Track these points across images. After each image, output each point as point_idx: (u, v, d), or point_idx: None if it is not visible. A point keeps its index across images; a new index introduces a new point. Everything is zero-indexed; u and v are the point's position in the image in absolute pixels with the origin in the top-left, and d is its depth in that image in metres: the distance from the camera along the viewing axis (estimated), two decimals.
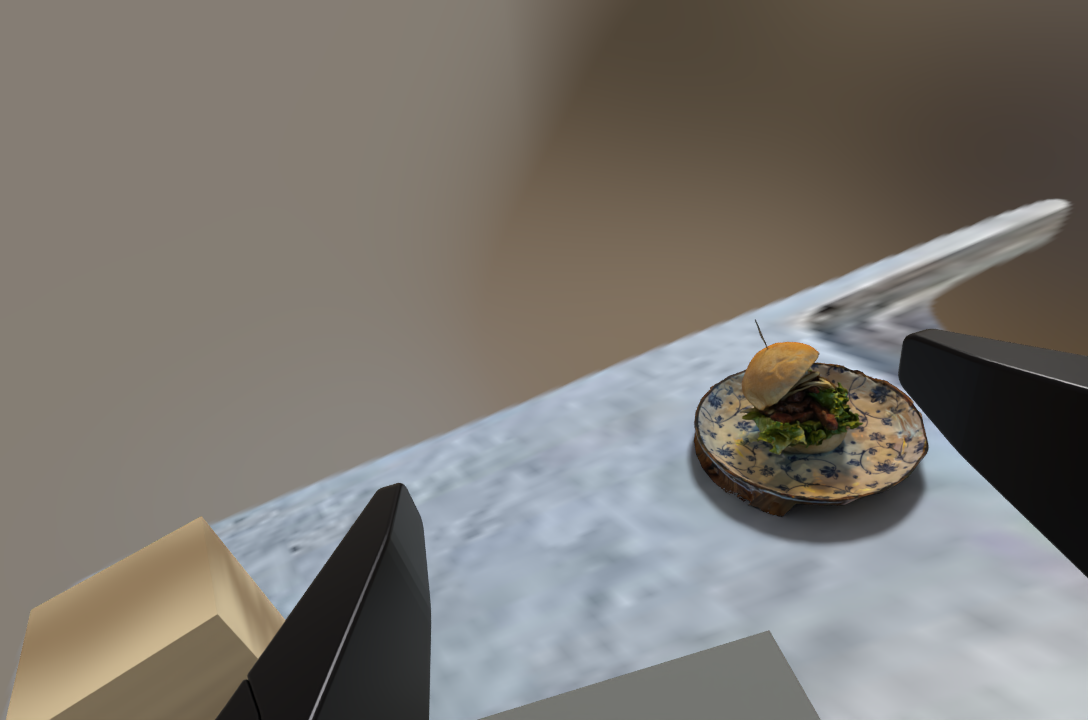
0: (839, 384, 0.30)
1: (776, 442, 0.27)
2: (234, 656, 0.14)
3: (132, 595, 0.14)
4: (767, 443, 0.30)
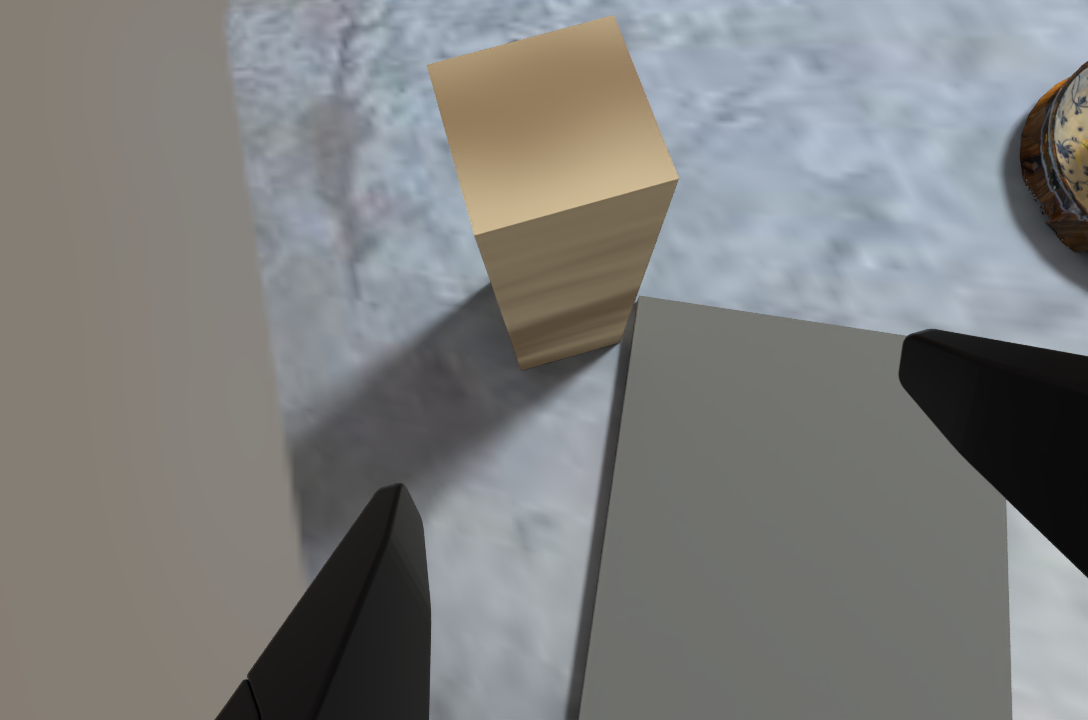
0: None
1: None
2: (653, 218, 0.13)
3: (556, 101, 0.12)
4: None
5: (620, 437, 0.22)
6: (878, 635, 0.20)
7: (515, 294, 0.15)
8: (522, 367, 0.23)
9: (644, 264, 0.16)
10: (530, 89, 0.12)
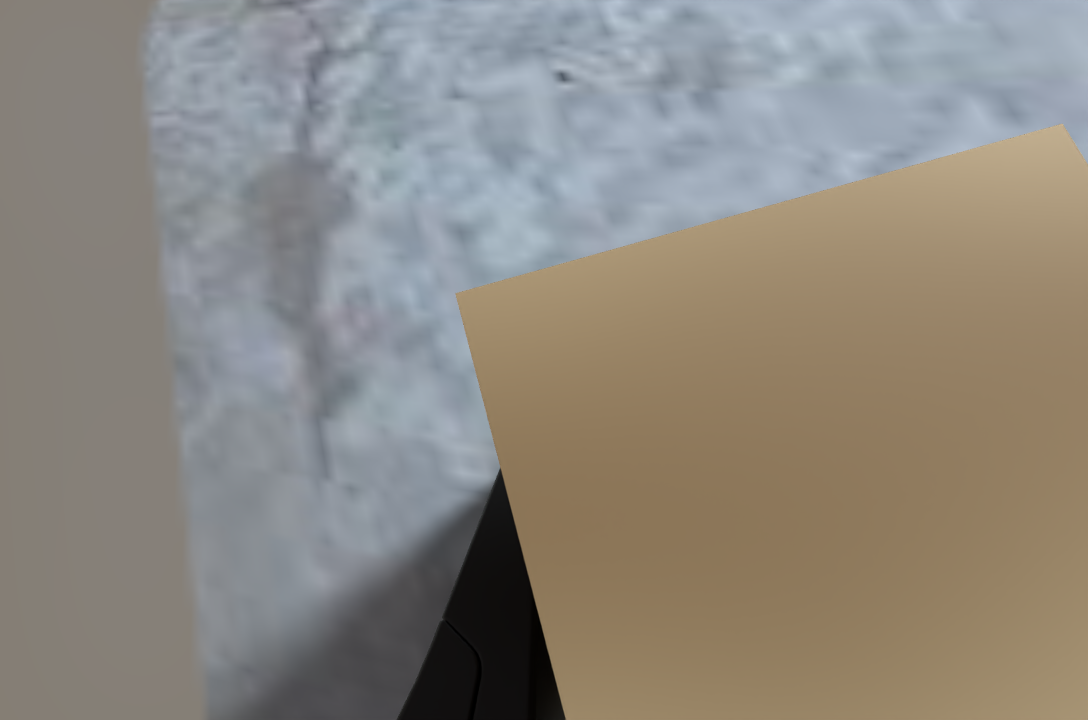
0: None
1: None
2: None
3: (923, 453, 0.03)
4: None
5: None
6: None
7: None
8: None
9: None
10: (822, 398, 0.03)
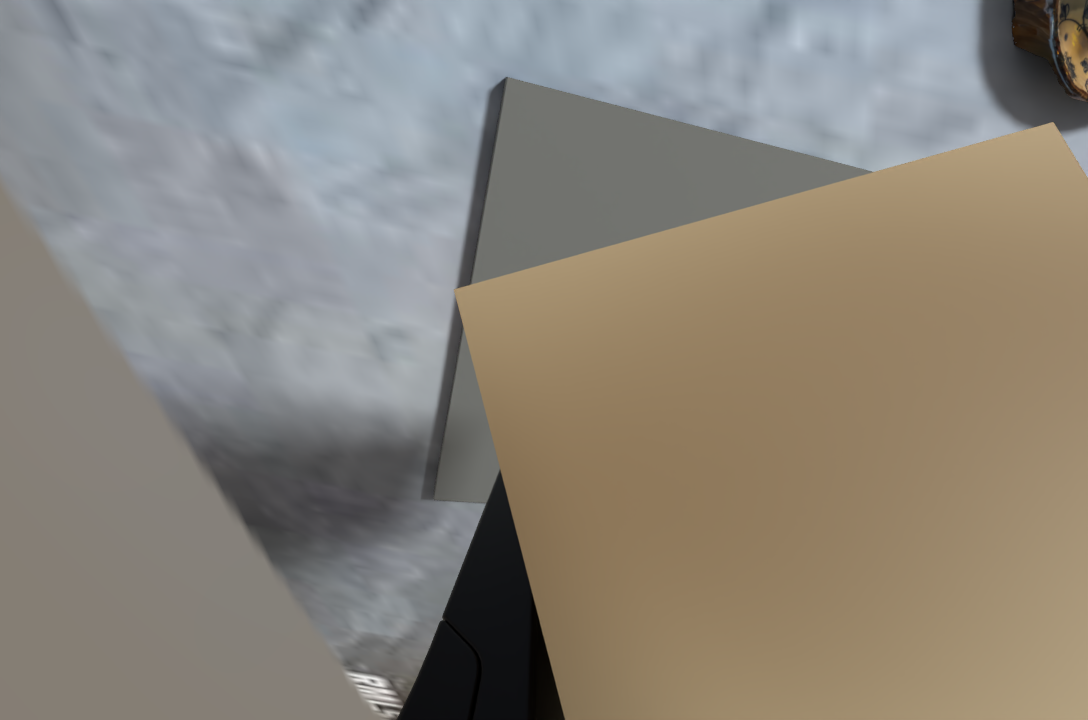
0: None
1: None
2: None
3: (914, 445, 0.03)
4: None
5: (477, 260, 0.20)
6: None
7: None
8: None
9: None
10: (815, 392, 0.03)
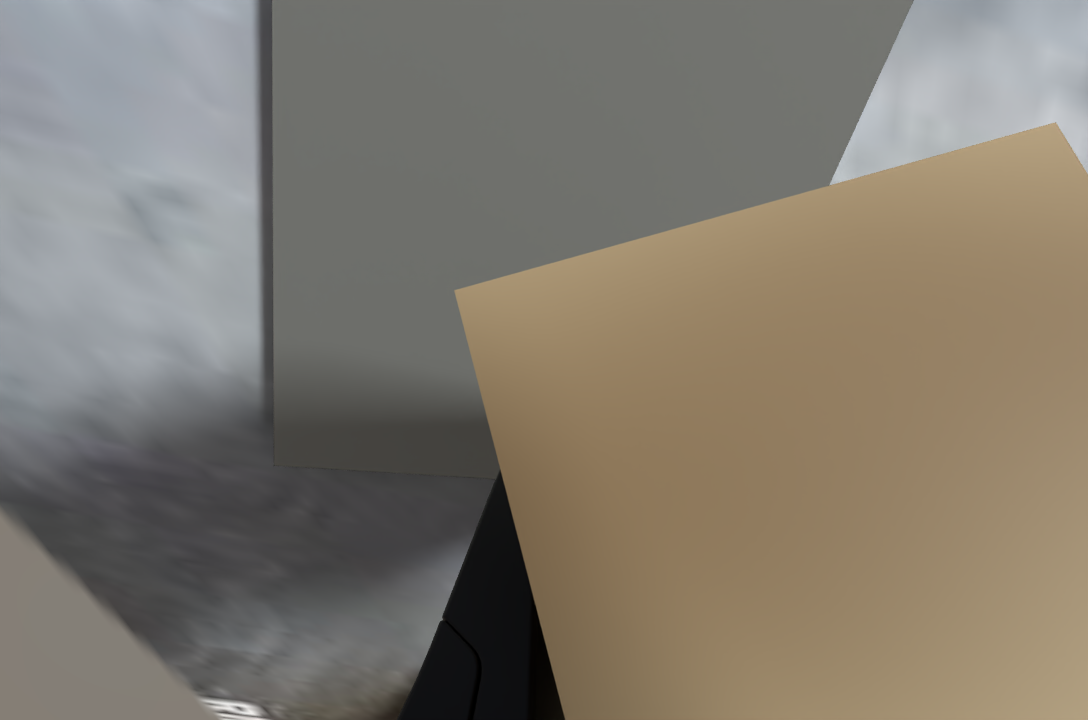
0: None
1: None
2: None
3: (917, 446, 0.03)
4: None
5: (274, 56, 0.12)
6: None
7: None
8: None
9: None
10: (816, 393, 0.03)
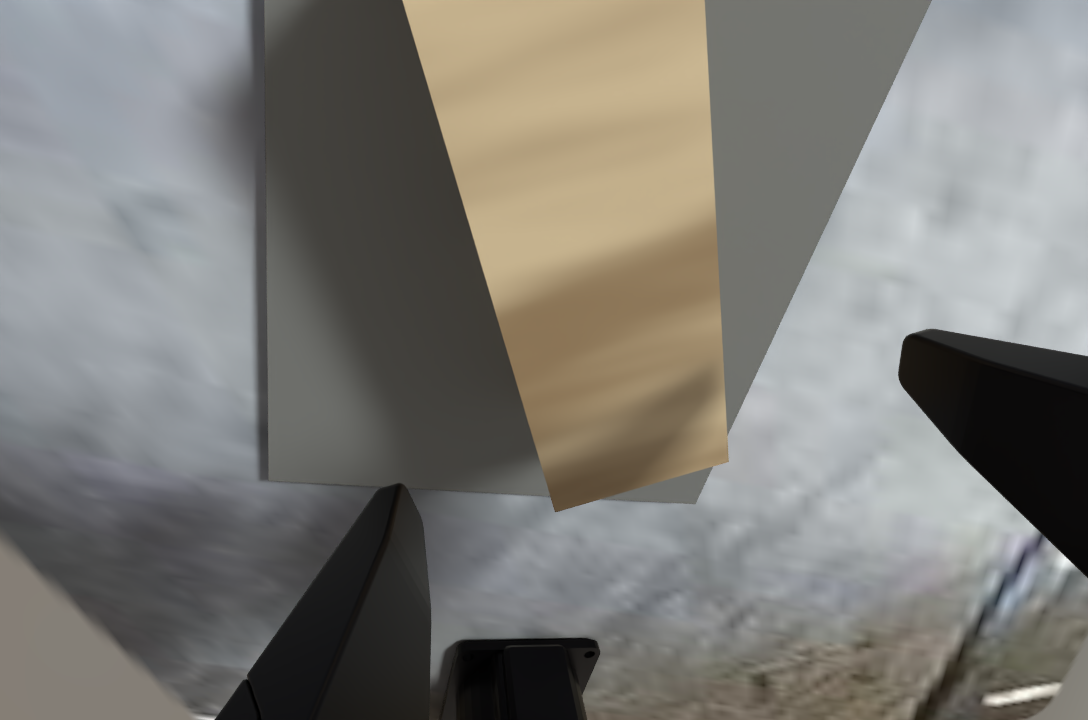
0: None
1: None
2: None
3: None
4: None
5: (267, 60, 0.11)
6: None
7: (478, 137, 0.09)
8: (554, 497, 0.13)
9: (703, 110, 0.09)
10: None
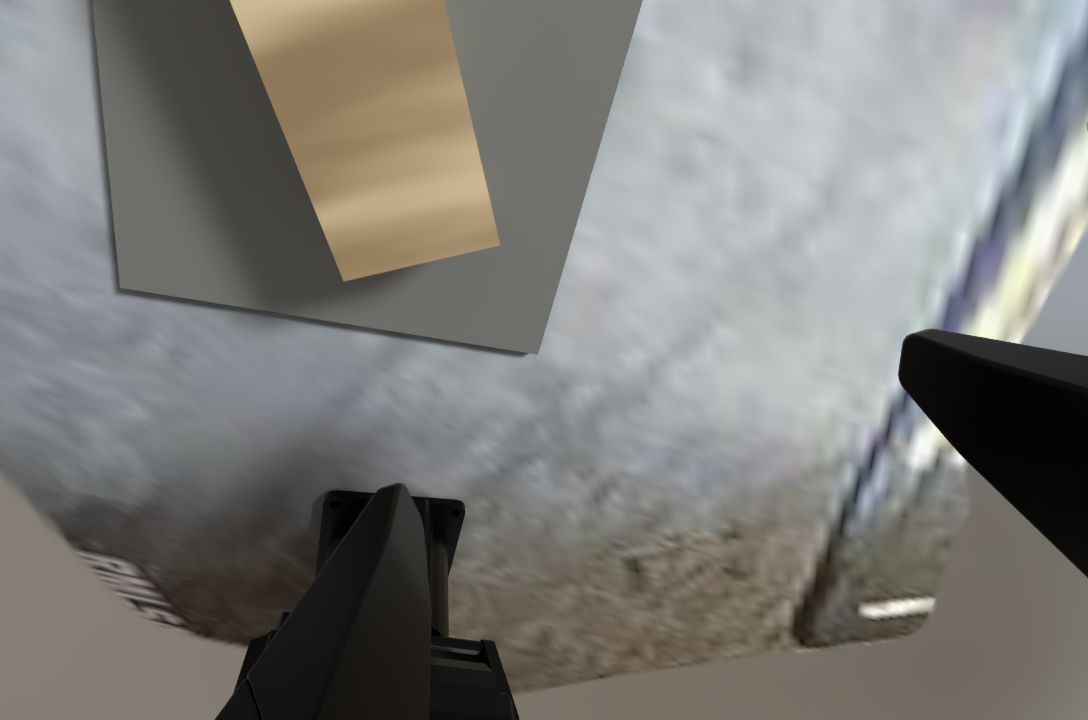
0: None
1: None
2: None
3: None
4: None
5: None
6: None
7: None
8: (340, 265, 0.15)
9: None
10: None
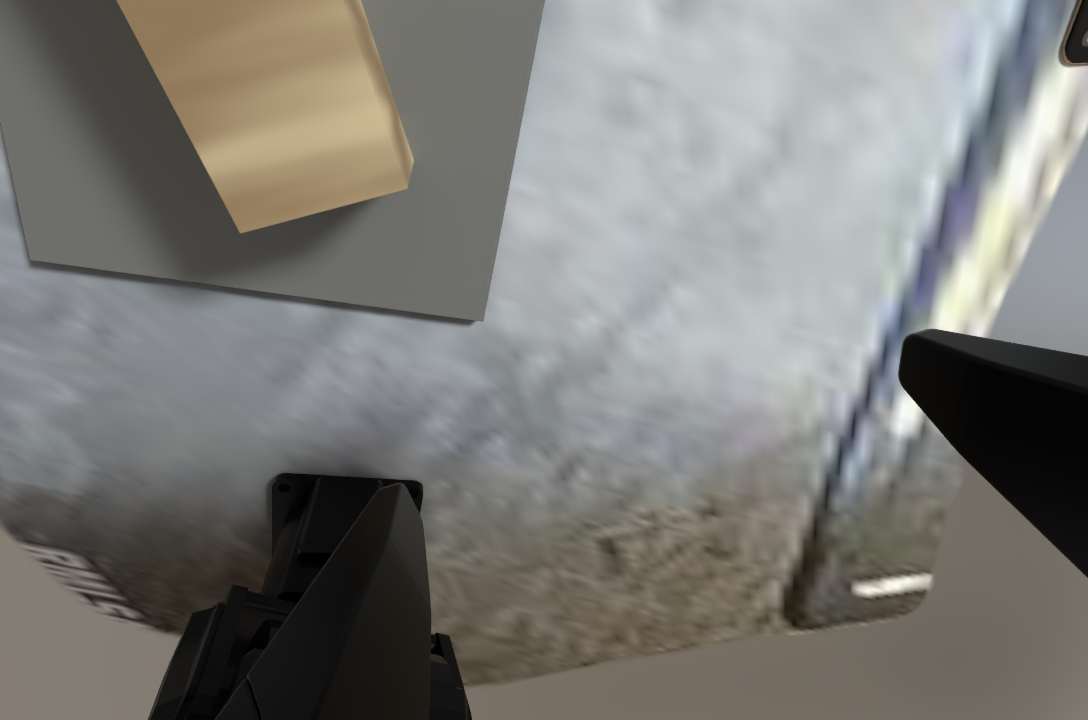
0: None
1: None
2: None
3: None
4: None
5: None
6: None
7: None
8: (234, 215, 0.14)
9: None
10: None
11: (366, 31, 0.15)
